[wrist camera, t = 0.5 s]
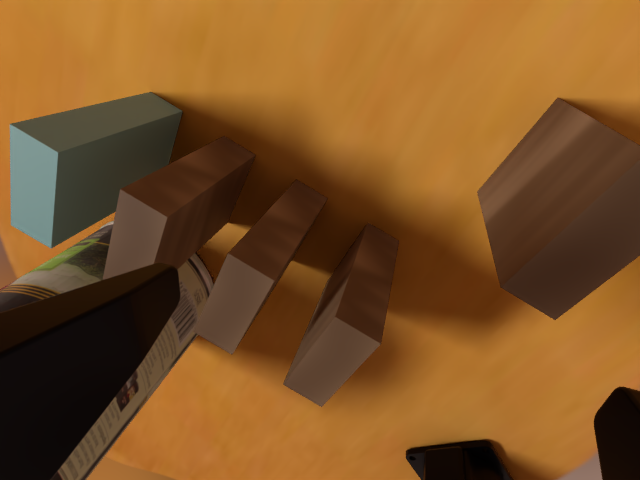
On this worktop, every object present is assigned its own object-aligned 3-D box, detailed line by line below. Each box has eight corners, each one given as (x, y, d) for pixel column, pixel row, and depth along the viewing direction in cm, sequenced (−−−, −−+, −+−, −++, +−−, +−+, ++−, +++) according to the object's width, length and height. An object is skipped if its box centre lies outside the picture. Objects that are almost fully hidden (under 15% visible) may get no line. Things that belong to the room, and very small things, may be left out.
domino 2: (255, 155, 20) (167, 217, 14) (227, 222, 23) (142, 301, 16) (224, 135, 20) (119, 189, 14) (199, 205, 23) (102, 278, 16)
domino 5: (597, 122, 16) (719, 194, 9) (511, 212, 18) (554, 320, 12) (557, 97, 16) (649, 150, 9) (477, 191, 18) (500, 287, 12)
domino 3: (327, 198, 21) (274, 280, 14) (291, 260, 23) (232, 354, 17) (296, 179, 21) (228, 253, 14) (263, 243, 23) (193, 331, 17)
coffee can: (69, 253, 29) (-190, 412, 17) (146, 191, 24) (-143, 354, 12) (160, 348, 31) (-8, 542, 20) (245, 310, 27) (91, 538, 15)
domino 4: (399, 241, 21) (381, 344, 14) (354, 298, 23) (321, 407, 17) (368, 222, 21) (335, 316, 14) (327, 281, 23) (282, 384, 17)
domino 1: (182, 111, 20) (58, 152, 14) (163, 184, 23) (51, 248, 16) (150, 91, 20) (10, 124, 14) (135, 167, 23) (11, 225, 16)
